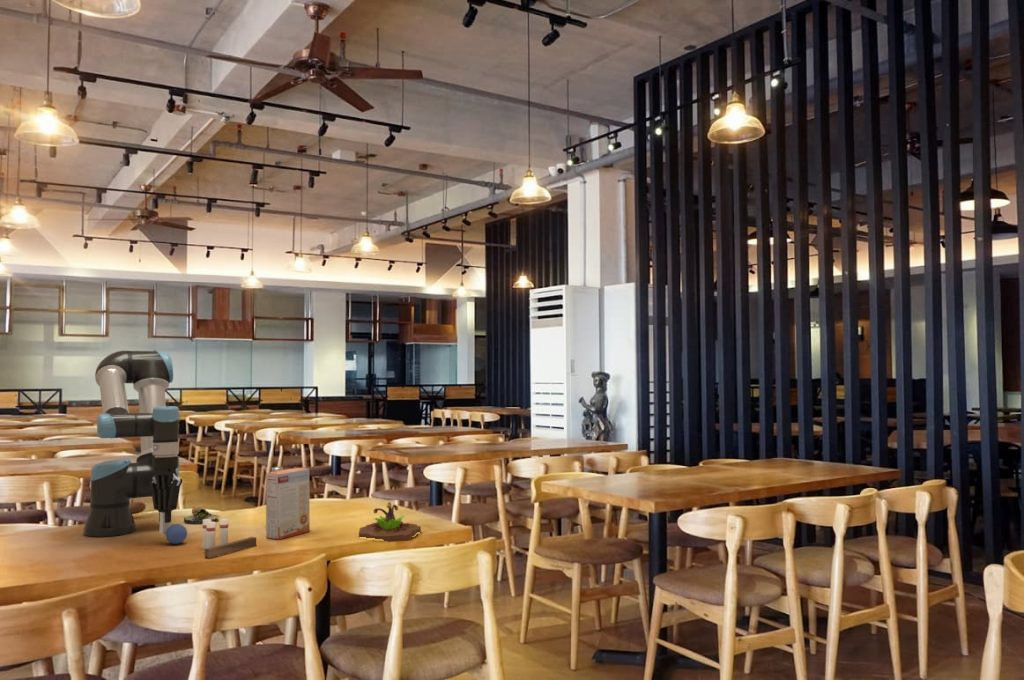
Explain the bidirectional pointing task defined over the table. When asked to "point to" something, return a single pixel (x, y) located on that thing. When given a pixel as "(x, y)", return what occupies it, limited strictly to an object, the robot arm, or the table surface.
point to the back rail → (230, 547)
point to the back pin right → (210, 535)
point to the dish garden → (199, 515)
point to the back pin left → (223, 531)
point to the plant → (389, 527)
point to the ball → (176, 534)
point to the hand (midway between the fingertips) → (165, 533)
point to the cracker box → (287, 503)
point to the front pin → (205, 531)
